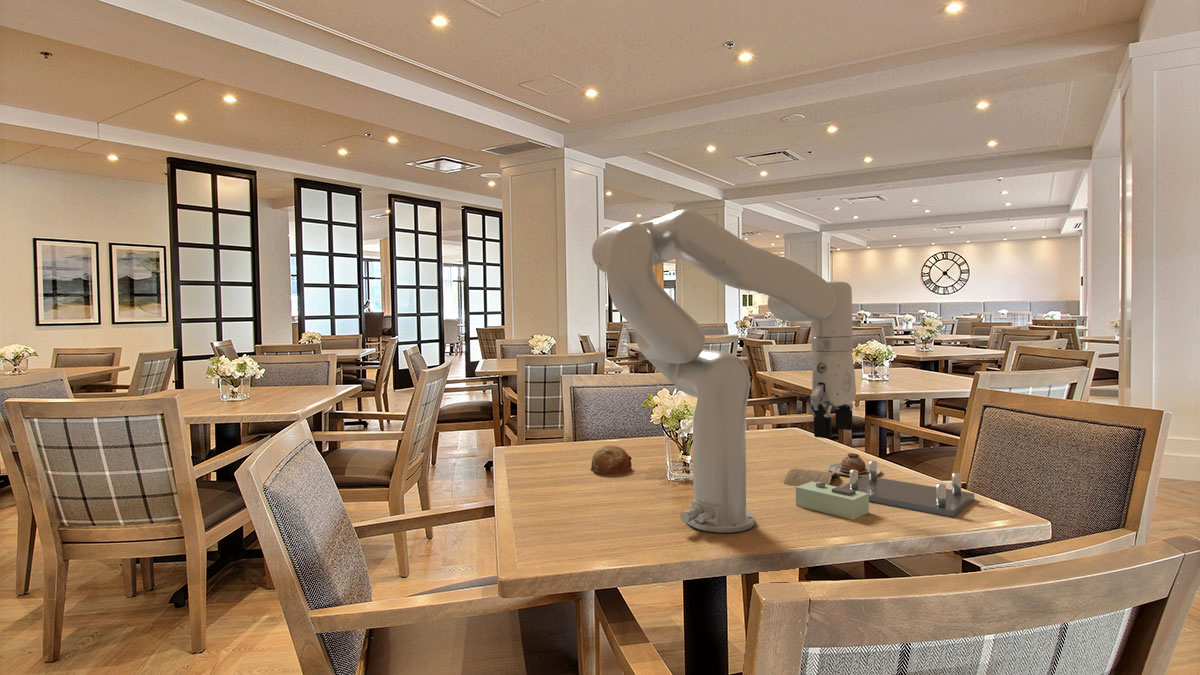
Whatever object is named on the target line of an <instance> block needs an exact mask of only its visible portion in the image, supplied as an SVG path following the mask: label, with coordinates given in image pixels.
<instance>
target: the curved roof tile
mask: <svg viewBox="0 0 1200 675" xmlns="http://www.w3.org/2000/svg"><path fill="white" fill-rule="evenodd" d="M834 476H835V478H839V477H840V476H841V475H838V473H832V472H829V471H821V470H812V469H805V468H804V469H803V468H797V467H796V468H790V469H789V470H788V472H787V473H786V475H785V478H784V482H783V484H784V485H786V486H791V487H792V486H793V487H797V486H800V485H803V484H806V483H809V482H817V481H821V482H825V484H826V485H830V483H831V480H832V477H834Z"/></svg>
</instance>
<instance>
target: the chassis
mask: <svg viewBox="0 0 1200 675" xmlns="http://www.w3.org/2000/svg"><path fill="white" fill-rule="evenodd" d="M868 465H869V471H868V475H869V476H865V475H866V474H864V476H862V477H858V470H850V474H849V475H850V476H849V483H847V484H844V485H843V486H841V487H842V488H847V489H852V490H856V491H860V492H864V493H869V503H870V502H871V503H875V504H882V505H887V506H892V507H898V508H903V509H908V510H912V511H919V512H924V513H929V514H934V515H940V516H944V517H945V516H946V517H949V518H955V517H956V516H957V515H958V514H959V513H960V512H962V511H963V510H964V509H965V508H966V507H967V506H969V504H971V503H972V502H973V501H974V500H975V492H968V491H962V473H960V472H959V473H958V472H952V473H951V489H948V488H947V485H946V484H945V483H936V486H932V485H931V486H930V485H925V484H921V483H920V484H919V483H913V482H909V481H908V482H906V481H900V480H895V479H888V478H884V477H883V478H882V477H878V475H877V468H878V461H876V460H869V461H868Z"/></svg>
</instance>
